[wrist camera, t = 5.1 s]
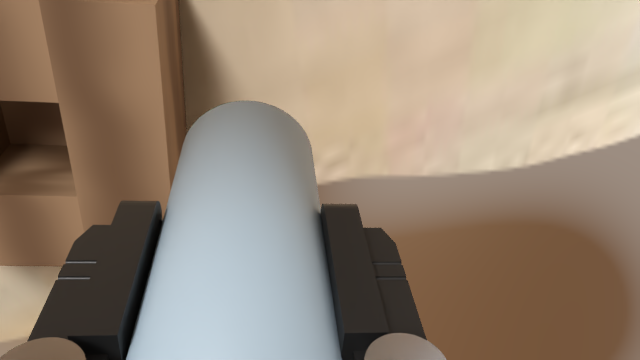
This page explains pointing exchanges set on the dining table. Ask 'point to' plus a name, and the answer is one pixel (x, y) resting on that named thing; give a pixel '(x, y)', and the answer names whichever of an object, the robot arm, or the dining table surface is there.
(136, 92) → the socket block
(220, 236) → the dowel
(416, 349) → the robot arm
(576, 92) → the dining table surface
